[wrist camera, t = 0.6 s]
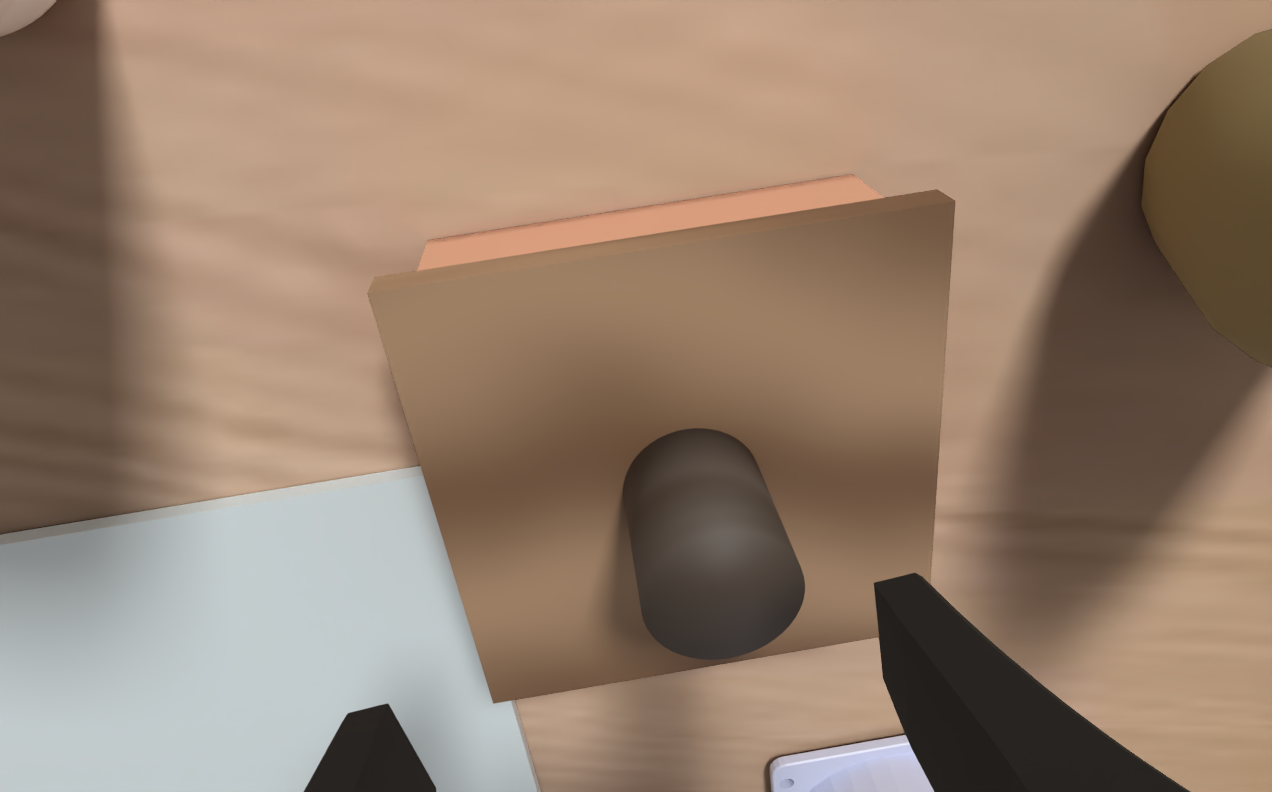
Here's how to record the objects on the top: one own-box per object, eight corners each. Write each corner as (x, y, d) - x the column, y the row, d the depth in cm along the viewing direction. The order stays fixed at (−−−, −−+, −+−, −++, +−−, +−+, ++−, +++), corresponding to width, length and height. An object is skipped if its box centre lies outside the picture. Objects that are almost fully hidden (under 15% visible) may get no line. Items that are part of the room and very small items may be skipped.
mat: (551, 827, 30) (551, 840, 30) (103, 907, 29) (97, 922, 29) (446, 461, 22) (444, 472, 22) (-167, 561, 22) (-181, 574, 21)
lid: (914, 606, 22) (994, 746, 18) (494, 678, 21) (485, 836, 18) (936, 189, 16) (1057, 265, 12) (374, 277, 16) (325, 382, 12)
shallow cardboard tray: (851, 513, 24) (896, 595, 21) (513, 569, 24) (510, 661, 21) (852, 174, 20) (910, 218, 16) (427, 240, 19) (407, 297, 16)
